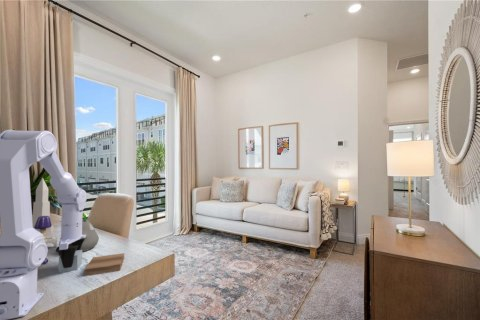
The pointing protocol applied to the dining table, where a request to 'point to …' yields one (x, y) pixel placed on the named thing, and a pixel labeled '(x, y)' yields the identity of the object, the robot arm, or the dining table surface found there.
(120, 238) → the dining table surface
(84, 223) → the toy
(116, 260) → the walnut base
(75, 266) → the slate cube
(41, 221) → the toy lamp
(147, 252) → the dining table surface
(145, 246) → the dining table surface
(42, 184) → the sculpture
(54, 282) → the dining table surface
